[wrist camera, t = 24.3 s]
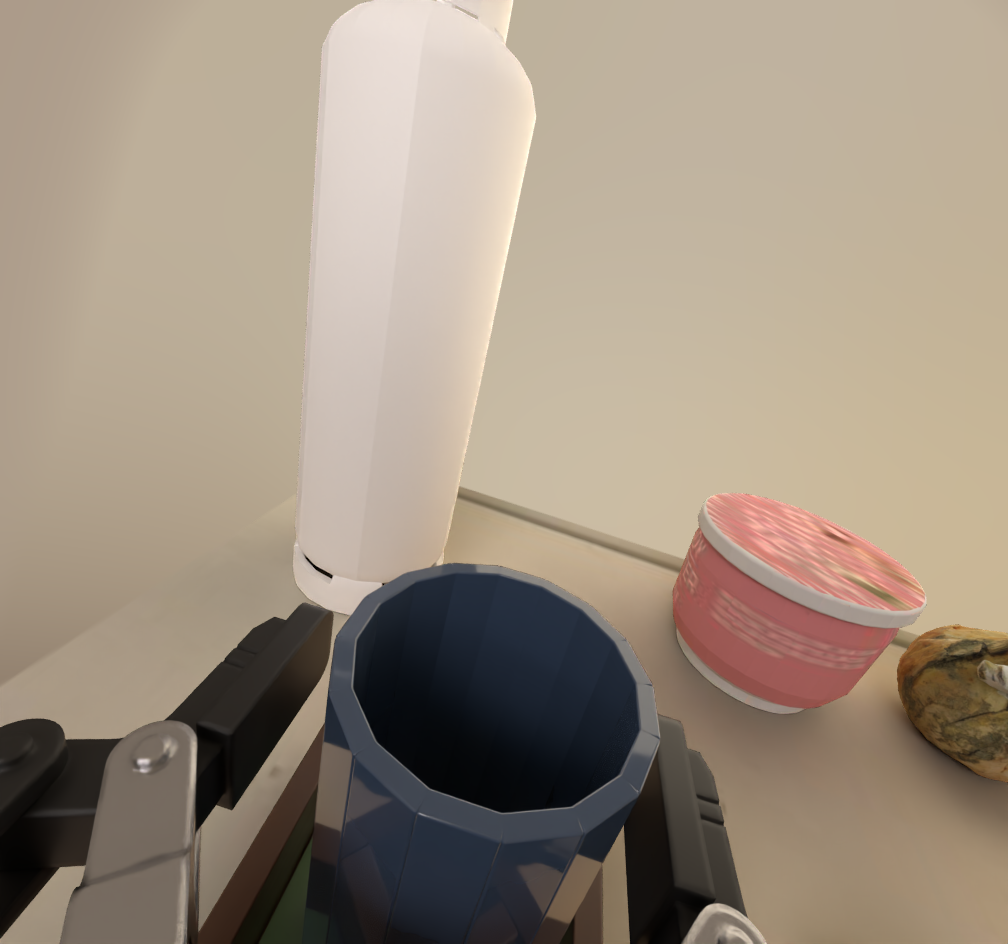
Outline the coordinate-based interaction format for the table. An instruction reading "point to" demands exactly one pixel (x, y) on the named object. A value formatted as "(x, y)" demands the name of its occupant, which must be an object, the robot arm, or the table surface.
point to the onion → (960, 695)
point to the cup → (473, 761)
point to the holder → (285, 871)
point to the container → (786, 603)
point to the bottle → (402, 280)
